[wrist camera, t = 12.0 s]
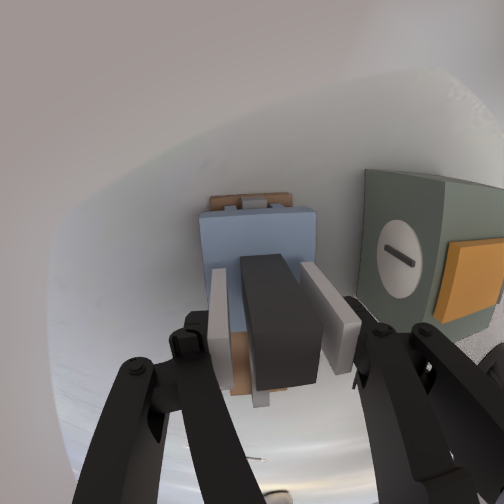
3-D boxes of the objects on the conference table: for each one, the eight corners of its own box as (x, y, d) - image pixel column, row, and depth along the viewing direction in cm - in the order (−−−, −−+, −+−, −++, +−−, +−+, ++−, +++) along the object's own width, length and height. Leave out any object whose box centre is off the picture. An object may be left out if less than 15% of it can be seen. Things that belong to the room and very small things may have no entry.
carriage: (298, 299, 22) (352, 406, 11) (213, 306, 22) (210, 427, 11) (299, 202, 20) (387, 255, 9) (203, 207, 19) (177, 272, 8)
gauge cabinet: (429, 283, 26) (487, 327, 17) (350, 296, 25) (404, 359, 16) (443, 176, 22) (517, 192, 13) (359, 169, 21) (438, 180, 12)
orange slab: (492, 296, 15) (502, 302, 14) (432, 315, 15) (442, 324, 14) (506, 236, 14) (517, 241, 13) (448, 241, 13) (461, 248, 12)
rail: (284, 380, 28) (290, 403, 25) (230, 386, 27) (231, 409, 24) (287, 192, 21) (298, 198, 18) (211, 196, 21) (208, 203, 18)
